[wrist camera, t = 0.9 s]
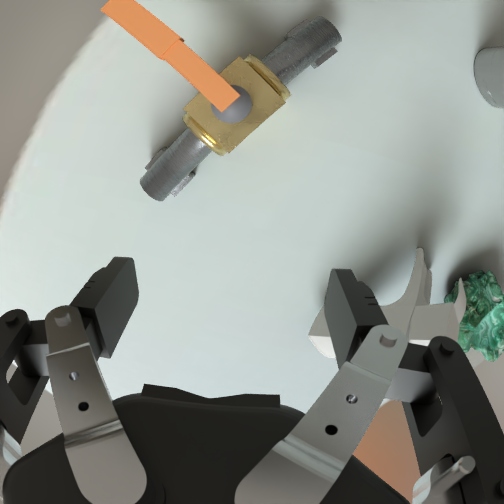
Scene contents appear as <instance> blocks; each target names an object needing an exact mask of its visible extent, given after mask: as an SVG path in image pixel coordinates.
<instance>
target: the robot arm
mask: <svg viewBox="0 0 504 504" xmlns="http://www.w3.org/2000/svg"><path fill="white" fill-rule="evenodd" d="M474 73H475V79H476V82H477V86H478V88H479V90H480V92H481V94H482V95H483V97H484V98H485V99H486V101H487V102H488V103H490V104H491V105H493V106H495V107H498V108H504V47H495V48H485V49H482V50H481V51H480V52H479V53H478V55H477V56H476V59H475V64H474ZM138 297H139V290H138V284H137V277H136V271H135V264H134V260H133V258H129V257H114V258H113V259H112V260H111V262H110V263H109V264H108V265H107V267H106V268H104V267H103V268H101V269H100V270H98V271H97V272H95V273H94V274H93V275H92V276H91V278H90V279H89V280H88V282H87V283H86V284H85V285H84V288H82V289H81V290H80V292H79V293H78V294H77V296H76V297H75V298H74V299H73V301H72V302H71V303H70V305H65V306H60V307H57V308H55V309H53V310H51V311H50V312H49V313H48V314H47V316H46V318H45V320H35V321H30V320H29V318H28V315H27V313H26V312H25V311H24V310H21V309H15V310H11V311H8V312H6V313H5V314H3V315H2V316H1V317H0V499H1V500H2V501H3V502H4V504H410V503H409V501H408V500H406V498H405V497H403V496H402V495H401V494H400V493H398V492H397V491H396V490H395V489H393V488H392V487H391V486H389V485H388V484H387V483H386V482H385V481H383V480H382V479H381V478H379V477H378V476H377V475H376V474H375V473H374V472H372V471H371V470H370V469H369V468H368V467H366V466H365V465H364V464H363V463H362V462H361V461H359V460H358V459H357V458H356V457H355V456H354V455H352V454H353V452H354V450H355V449H356V447H357V446H358V444H359V442H360V441H361V439H362V437H363V436H364V434H365V432H366V430H367V429H368V427H369V425H370V423H371V422H372V420H373V418H374V416H375V414H376V412H377V410H378V409H379V407H380V405H381V403H382V401H383V399H384V398H386V399H391V400H397V401H402V404H403V408H404V411H405V415H406V418H407V422H408V425H409V429H410V433H411V437H412V441H413V445H414V449H415V453H416V457H417V461H418V465H419V470H420V474H421V477H420V478H419V479H418V480H417V482H416V483H415V485H414V488H413V502H412V504H504V434H503V432H502V429H501V427H500V424H499V422H498V420H497V418H496V415H495V413H494V411H493V409H492V407H491V404H490V403H489V400H488V398H487V396H486V394H485V392H484V390H483V387H482V386H481V384H480V381H479V379H478V377H477V376H476V374H475V372H474V370H473V368H472V366H471V364H470V362H469V360H468V358H467V357H466V355H465V353H464V351H463V349H462V348H461V346H460V345H459V344H458V343H457V342H456V341H455V340H453V339H451V338H449V337H446V336H436V337H434V338H432V339H431V340H430V342H429V344H428V346H424V345H418V344H413V343H409V342H408V339H407V337H406V335H405V334H404V333H403V332H402V331H401V330H399V329H398V328H396V327H393V326H390V325H389V324H388V322H387V319H386V317H385V316H384V314H383V312H382V310H381V308H380V306H379V305H378V302H377V300H376V299H375V296H374V294H373V292H372V290H371V289H370V288H369V287H368V286H367V285H366V284H364V283H363V282H357V280H356V278H355V276H354V274H353V272H352V270H351V269H332V271H331V274H330V278H329V283H328V288H327V293H326V298H325V303H324V314H325V318H326V322H327V326H328V329H329V333H330V337H331V341H332V344H333V348H334V352H335V356H336V360H337V364H338V368H339V371H338V372H337V374H336V375H335V377H334V378H333V379H332V381H331V382H330V383H329V385H328V386H327V387H326V389H325V390H324V391H323V393H322V394H321V395H320V397H319V398H318V399H317V400H316V402H315V403H314V404H313V405H312V407H311V408H310V409H309V410H308V412H307V413H306V414H304V413H303V412H301V411H299V410H296V409H294V408H291V407H288V406H285V405H281V404H280V395H266V394H241V395H234V396H227V397H219V398H205V397H202V396H199V395H196V394H192V393H189V392H186V391H183V390H180V389H177V388H172V387H164V386H157V385H150V384H144V386H143V389H142V393H137V394H130V395H126V396H123V397H120V398H117V399H115V400H112V398H111V396H110V393H109V391H108V388H107V386H106V384H105V381H104V379H103V376H102V373H101V371H100V368H99V366H98V363H97V361H98V359H99V357H104V358H111V356H112V354H113V352H114V350H115V348H116V345H117V343H118V341H119V339H120V337H121V335H122V333H123V331H124V329H125V327H126V325H127V323H128V321H129V319H130V317H131V315H132V313H133V311H134V309H135V307H136V305H137V303H138ZM13 360H15V362H16V364H17V366H18V367H17V369H16V371H15V372H14V374H13V376H12V378H11V379H10V381H9V383H7V380H6V373H7V370H8V368H9V366H10V365H11V363H12V362H13ZM49 378H50V382H51V387H52V392H53V396H54V400H55V404H56V408H57V412H58V416H59V420H60V423H61V427H62V430H63V432H62V433H61V434H60V435H58V436H56V437H55V438H53V439H52V440H50V441H48V442H46V443H45V444H43V445H41V446H40V447H38V448H36V449H35V450H33V451H31V452H30V453H28V454H26V455H25V456H23V457H21V448H20V444H21V441H22V439H23V436H24V434H25V431H26V429H27V426H28V424H29V421H30V419H31V416H32V414H33V412H34V410H35V408H36V405H37V403H38V401H39V399H40V397H41V395H42V392H43V390H44V388H45V386H46V384H47V382H48V380H49ZM439 397H440V398H439ZM440 399H441V401H440ZM441 402H442V403H441Z"/></svg>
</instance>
